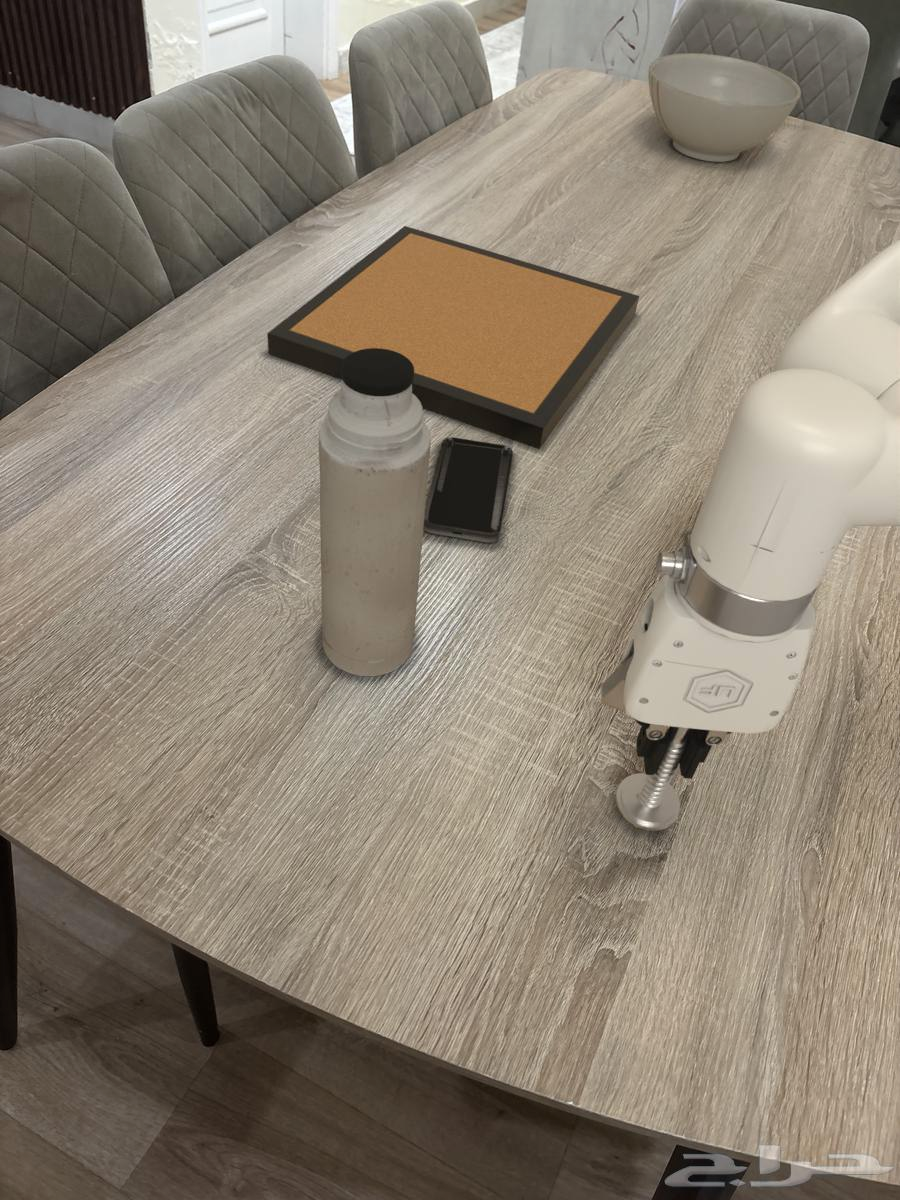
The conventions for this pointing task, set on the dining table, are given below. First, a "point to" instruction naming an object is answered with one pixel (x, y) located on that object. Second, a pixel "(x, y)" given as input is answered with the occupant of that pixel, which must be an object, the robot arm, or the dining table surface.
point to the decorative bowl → (718, 103)
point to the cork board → (465, 330)
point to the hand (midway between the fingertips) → (666, 758)
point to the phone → (468, 490)
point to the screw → (654, 789)
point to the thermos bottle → (372, 513)
